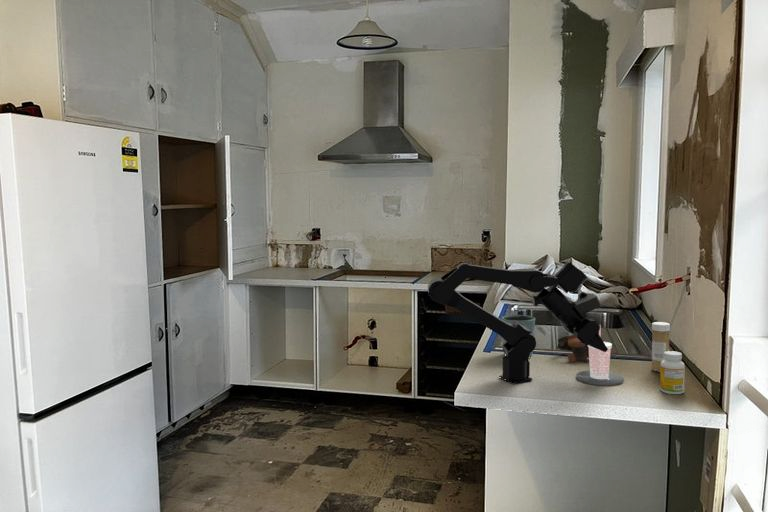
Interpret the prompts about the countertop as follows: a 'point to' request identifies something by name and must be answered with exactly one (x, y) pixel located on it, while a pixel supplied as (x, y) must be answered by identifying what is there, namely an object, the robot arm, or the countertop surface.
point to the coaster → (610, 381)
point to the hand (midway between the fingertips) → (600, 346)
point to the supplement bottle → (672, 373)
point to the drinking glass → (521, 323)
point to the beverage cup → (599, 361)
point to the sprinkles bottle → (659, 343)
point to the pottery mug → (574, 348)
